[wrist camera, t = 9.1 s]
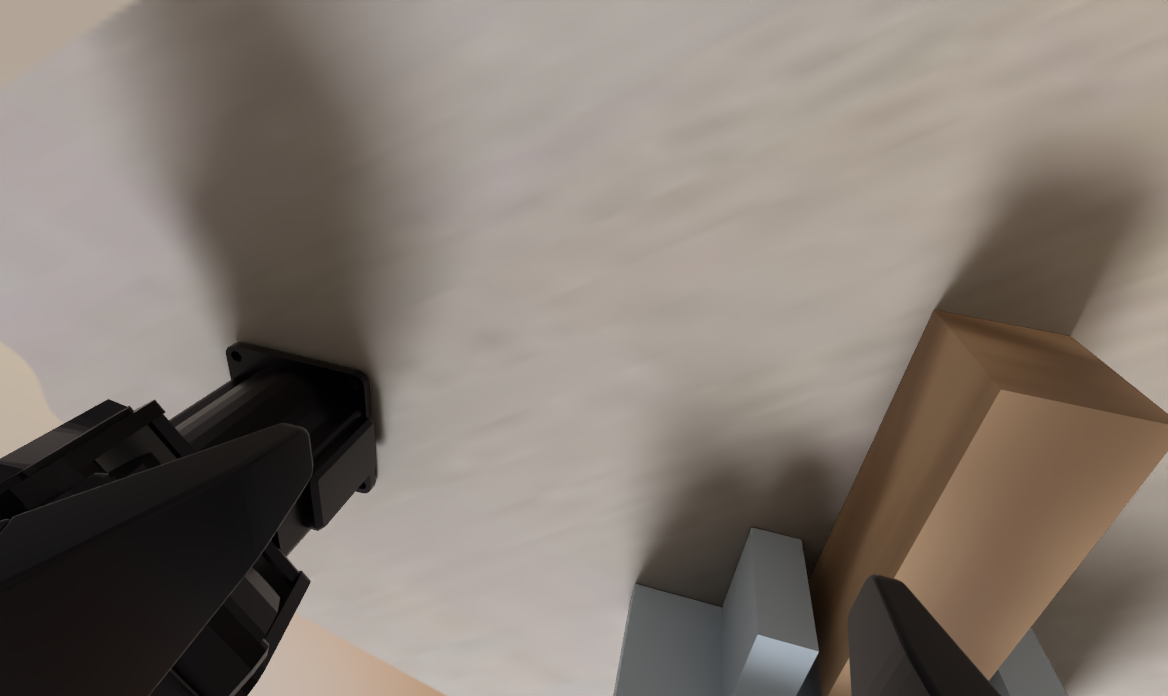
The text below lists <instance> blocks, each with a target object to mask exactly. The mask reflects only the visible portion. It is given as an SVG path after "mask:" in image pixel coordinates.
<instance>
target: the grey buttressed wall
mask: <svg viewBox="0 0 1168 696" xmlns="http://www.w3.org/2000/svg"><path fill="white" fill-rule="evenodd" d="M818 653H819V648H818V641H817V635H816V629H815V622H814V616H813V610H812V603H811V597H810V591H809V584H808V578H807V572H806V565H805V559H804V553H803V546H802V540H801V539H797V538H793V537H789V536H785V535H781V534H777V533H773V532H769V531H765V530H761V529H757V528H753V527H752V528H751V530H750V533H749V536H748V538H747V541H746V544H745V547H744V549H743V552H742V555H741V557H740V560H739V563H738V566H737V568H736V571H735V574H734V577H733V579H732V582H731V585H730V587H729V590H728V593H727V596H726V598H725V601H724V604H723V607H719V606H715V605H711V604H708V603H704V602H700V601H697V600H693V599H689V598H686V597H682V596H678V595H675V594H671V593H667V592H664V591H660V590H656V589H653V588H649V587H645V586H642V585H638V584H635V586H634V590H633V594H632V598H631V602H630V606H629V610H628V615H627V621H626V627H625V632H624V638H623V644H622V649H621V655H620V661H619V667H618V672H617V678H616V684H615V689H614V695H613V696H814V693H813V686H812V679H811V672H810V668H811V666H812V664H813V662H814V660H815V659H816V657H817V655H818ZM989 682H990V683H991V684H992V685H993V686H994V687H995V689H996V690H997V691H998V692H999V693H1000V694H1001V696H1068V695H1067V693H1066V691H1065V689H1064V687H1063V686H1062V684H1061V682H1060V680H1059V678H1058V676H1057V674H1056V673H1055V671H1054V669H1053V667H1052V665H1051V663H1050V661H1049V660H1048V658H1047V656H1046V654H1045V652H1044V650H1043V648H1042V647H1041V645H1040V643H1039V641H1038V639H1037V637H1036V635H1035V634H1034V632H1033V630H1032V628H1031V627H1030V629H1029V630H1028V631H1027V633H1026V634H1025V635H1024V636H1023V638H1022V639H1021V640H1020V642H1019V643H1018V644H1017V645H1016V647H1015V648H1014V649H1013V651H1012V652H1011V653H1010V654H1009V656H1008V657H1007V658H1006V660H1005V661H1004V662H1003V663H1002V665H1001V666H1000V667H999V669H998V670H997V671H996V672H995V674H994V675H993V676H992V678H991V679H990V680H989Z"/></svg>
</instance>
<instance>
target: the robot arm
mask: <svg viewBox="0 0 1168 696" xmlns="http://www.w3.org/2000/svg"><path fill="white" fill-rule="evenodd" d="M226 356H227V361H228V366H229V371H230V376H231V380H230V381H229V382H227V383H226V384H224V385H223V386H221V387H220V388H218V389H217V390H215V391H213V392H212V393H210V394H209V395H207V396H206V397H204V398H203V399H201V400H200V401H198V402H196V403H195V404H193V405H192V406H190V407H189V408H187V409H186V410H184V411H183V412H181V413H180V414H178V415H176V416H175V417H173V418H172V419H170V420H168V419H167V418H166V417H165V416H164V413H165V411H164V410H163V409H162V407H161V406H160V405H159V404H158V403H157V402H156V400H153V401H151V402H149V403H147V404H145V405H143V406H142V407H140V408H138V409H136V410H133V409H132V408H131V407H130V406H128V407H126V406H124V405H121V404H119V403H116V402H114V401H111V400H109V399H108V400H106V401H104V402H102V403H101V404H99V405H97V406H95V407H93V408H92V409H90V410H88V411H86V412H84V413H83V414H81V415H79V416H77V417H75V418H73V419H72V420H70V421H68V422H66V423H64V424H63V425H61V426H59V427H57V428H55V429H53V430H52V431H50V432H48V433H46V434H44V435H43V436H41V437H39V438H37V439H35V440H33V441H32V442H30V443H28V444H27V445H24V446H23V447H21V448H19V449H17V450H15V451H13V452H12V453H10V454H8V455H6V456H5V457H3V458H1V459H0V696H247V695H248V694H249V693H250V691H251V690H252V689H253V687H254V686H255V684H256V683H257V682H258V680H259V679H260V677H261V675H262V674H263V672H264V670H265V669H266V667H267V665H268V663H269V661H270V659H271V657H272V655H273V653H274V651H275V650H276V648H277V646H278V643H279V642H280V640H281V638H282V636H283V634H284V632H285V630H286V628H287V626H288V625H289V622H290V621H291V619H292V617H293V615H294V613H295V611H296V609H297V607H298V606H299V604H300V602H301V600H302V598H303V596H304V594H305V592H306V590H307V588H308V586H309V584H310V582H311V581H310V580H309V579H308V577H307V576H306V575H305V574H304V573H303V572H302V571H298V570H297V569H296V568H295V566H294V565H293V564H292V563H291V562H290V561H289V560H288V558H287V556H288V554H289V553H290V552H291V551H292V550H293V549H294V548H295V547H296V545H297V544H298V543H299V542H300V541H301V540H302V539H303V537H304V536H305V535H306V534H307V533H308V532H309V531H310V530H311V529H313V530H317V531H319V530H320V529H322V528H324V527H325V526H326V525H327V524H328V523H329V521H330V520H331V519H332V518H333V517H334V516H335V514H336V513H337V512H338V511H339V510H340V509H341V507H342V506H343V505H344V504H345V503H346V502H347V500H348V499H349V498H350V497H351V496H352V495H353V493H354V492H355V491H357V492H360V493H368V492H369V491H370V490H371V489H372V488H373V487H374V485H375V482H376V480H375V468H376V449H375V432H374V423H373V421H372V415H371V398H370V383H369V379H368V377H367V376H366V374H364V373H363V372H362V371H359V370H356V369H352V368H347V367H343V366H339V365H335V364H331V363H326V362H322V361H318V360H314V359H310V358H305V357H301V356H297V355H293V354H289V353H284V352H280V351H276V350H272V349H267V348H263V347H259V346H255V345H251V344H246V343H242V342H237V343H235V344H233V345H231V346H230V347H228V348H227V350H226ZM354 380H355V381H356V382H357V383H358V384H356V383H355V382H354ZM848 644H849V662H850V680H851V696H1001V694H1000V693H999V692H998V691H997V690H996V689H995V687H994V686H993V685H992V684H991V683H990V682H989V681H988V679H987V678H986V677H985V676H984V675H983V674H982V672H981V671H980V670H979V669H978V668H977V667H976V666H975V664H974V663H973V662H972V661H971V660H970V659H969V657H968V656H967V655H966V654H965V653H964V652H963V651H962V649H961V648H960V647H959V646H958V645H957V644H956V642H955V641H954V640H953V639H952V638H951V637H950V636H949V634H948V633H947V632H946V631H945V630H944V629H943V627H942V626H941V625H940V624H939V623H938V622H937V621H936V619H935V618H934V617H933V616H932V615H931V614H930V612H929V611H928V610H927V609H926V608H925V607H924V606H923V604H922V603H921V602H920V601H919V600H918V599H917V597H916V596H915V595H914V594H913V593H912V592H911V591H910V589H909V588H908V587H907V586H906V585H905V584H904V583H903V582H901V581H900V580H897V579H894V578H890V577H886V576H882V575H878V574H872V575H870V576H868V577H867V579H866V580H865V582H864V584H863V586H862V588H861V590H860V592H859V593H858V595H857V597H856V599H855V601H854V603H853V605H852V607H851V609H850V612H849V615H848Z"/></svg>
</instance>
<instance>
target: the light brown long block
mask: <svg viewBox="0 0 1168 696" xmlns="http://www.w3.org/2000/svg"><path fill="white" fill-rule="evenodd" d="M1167 451H1168V414H1167V413H1166V412H1165V411H1163V410H1162V409H1161V408H1160V407H1158V406H1157V405H1156V404H1155V403H1153V402H1152V401H1151V400H1150V399H1148V398H1147V397H1146V396H1145V395H1144V394H1142V393H1141V392H1140V391H1139V390H1137V389H1136V388H1135V387H1134V386H1132V385H1131V384H1130V383H1129V382H1127V381H1126V380H1125V379H1124V378H1122V377H1121V376H1120V375H1119V374H1117V373H1116V372H1115V371H1114V370H1112V369H1111V368H1110V367H1109V366H1107V365H1106V364H1105V363H1104V362H1102V361H1101V360H1100V359H1099V358H1097V357H1096V356H1095V355H1094V354H1092V353H1091V352H1090V351H1089V350H1087V349H1086V348H1085V347H1084V346H1082V345H1081V344H1080V343H1079V342H1077V341H1076V340H1075V339H1074V338H1072V337H1071V336H1067V335H1062V334H1057V333H1051V332H1046V331H1041V330H1036V329H1031V328H1026V327H1021V326H1015V325H1010V324H1005V323H1000V322H995V321H990V320H985V319H979V318H974V317H969V316H964V315H959V314H954V313H949V312H944V311H938V310H934V311H933V313H932V315H931V317H930V319H929V321H928V324H927V326H926V328H925V330H924V332H923V334H922V337H921V339H920V341H919V343H918V345H917V347H916V350H915V352H914V354H913V356H912V358H911V360H910V363H909V365H908V367H907V369H906V371H905V373H904V375H903V378H902V380H901V382H900V384H899V386H898V388H897V391H896V393H895V395H894V397H893V399H892V401H891V404H890V406H889V408H888V410H887V412H886V414H885V417H884V419H883V421H882V423H881V425H880V427H879V430H878V432H877V434H876V436H875V438H874V440H873V442H872V445H871V447H870V449H869V451H868V453H867V455H866V458H865V460H864V462H863V464H862V466H861V468H860V471H859V473H858V475H857V477H856V479H855V481H854V484H853V486H852V488H851V490H850V492H849V494H848V497H847V499H846V501H845V503H844V505H843V507H842V509H841V512H840V514H839V516H838V518H837V520H836V522H835V525H834V527H833V529H832V531H831V533H830V535H829V538H828V540H827V542H826V544H825V546H824V548H823V551H822V553H821V555H820V557H819V559H818V561H817V564H816V566H815V568H814V570H813V572H812V574H811V576H810V579H809V581H808V584H809V591H810V597H811V603H812V610H813V616H814V622H815V629H816V635H817V641H818V648H819V653H818V655H817V657H816V659H815V660H814V662H813V664H812V666H811V668H810V672H811V679H812V686H813V693H814V696H851V680H850V662H849V644H848V615H849V612H850V609H851V607H852V605H853V603H854V601H855V599H856V597H857V595H858V593H859V592H860V590H861V588H862V586H863V584H864V582H865V580H866V579H867V577H868V576H870V575H872V574H878V575H882V576H886V577H890V578H894V579H897V580H900V581H901V582H903V583H904V584H905V585H906V586H907V587H908V588H909V589H910V591H911V592H912V593H913V594H914V595H915V596H916V597H917V599H918V600H919V601H920V602H921V603H922V604H923V606H924V607H925V608H926V609H927V610H928V611H929V612H930V614H931V615H932V616H933V617H934V618H935V619H936V621H937V622H938V623H939V624H940V625H941V626H942V627H943V629H944V630H945V631H946V632H947V633H948V634H949V636H950V637H951V638H952V639H953V640H954V641H955V642H956V644H957V645H958V646H959V647H960V648H961V649H962V651H963V652H964V653H965V654H966V655H967V656H968V657H969V659H970V660H971V661H972V662H973V663H974V664H975V666H976V667H977V668H978V669H979V670H980V671H981V672H982V674H983V675H984V676H985V677H986V678H987V679H988V681H989V680H990V679H991V678H992V676H993V675H994V674H995V672H996V671H997V670H998V669H999V667H1000V666H1001V665H1002V663H1003V662H1004V661H1005V660H1006V658H1007V657H1008V656H1009V654H1010V653H1011V652H1012V651H1013V649H1014V648H1015V647H1016V645H1017V644H1018V643H1019V642H1020V640H1021V639H1022V638H1023V636H1024V635H1025V634H1026V633H1027V631H1028V630H1029V629H1030V627H1031V626H1032V625H1033V624H1034V622H1035V621H1036V620H1037V618H1038V617H1039V616H1040V615H1041V613H1042V612H1043V611H1044V609H1045V608H1046V607H1047V606H1048V604H1049V603H1050V602H1051V600H1052V599H1053V598H1054V597H1055V595H1056V594H1057V593H1058V591H1059V590H1060V589H1061V588H1062V586H1063V585H1064V584H1065V582H1066V581H1067V580H1068V579H1069V577H1070V576H1071V575H1072V574H1073V572H1074V571H1075V570H1076V568H1077V567H1078V566H1079V565H1080V563H1081V562H1082V561H1083V559H1084V558H1085V557H1086V556H1087V554H1088V553H1089V552H1090V550H1091V549H1092V548H1093V547H1094V545H1095V544H1096V543H1097V541H1098V540H1099V539H1100V538H1101V536H1102V535H1103V534H1104V532H1105V531H1106V530H1107V529H1108V527H1109V526H1110V525H1111V523H1112V522H1113V521H1114V520H1115V518H1116V517H1117V516H1118V514H1119V513H1120V512H1121V511H1122V509H1123V508H1124V507H1125V505H1126V504H1127V503H1128V502H1129V500H1130V499H1131V498H1132V496H1133V495H1134V494H1135V493H1136V491H1137V490H1138V489H1139V487H1140V486H1141V485H1142V484H1143V482H1144V481H1145V480H1146V478H1147V477H1148V476H1149V475H1150V473H1151V472H1152V471H1153V469H1154V468H1155V467H1156V466H1157V464H1158V463H1159V462H1160V460H1161V459H1162V458H1163V457H1164V455H1165V454H1166V453H1167Z"/></svg>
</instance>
